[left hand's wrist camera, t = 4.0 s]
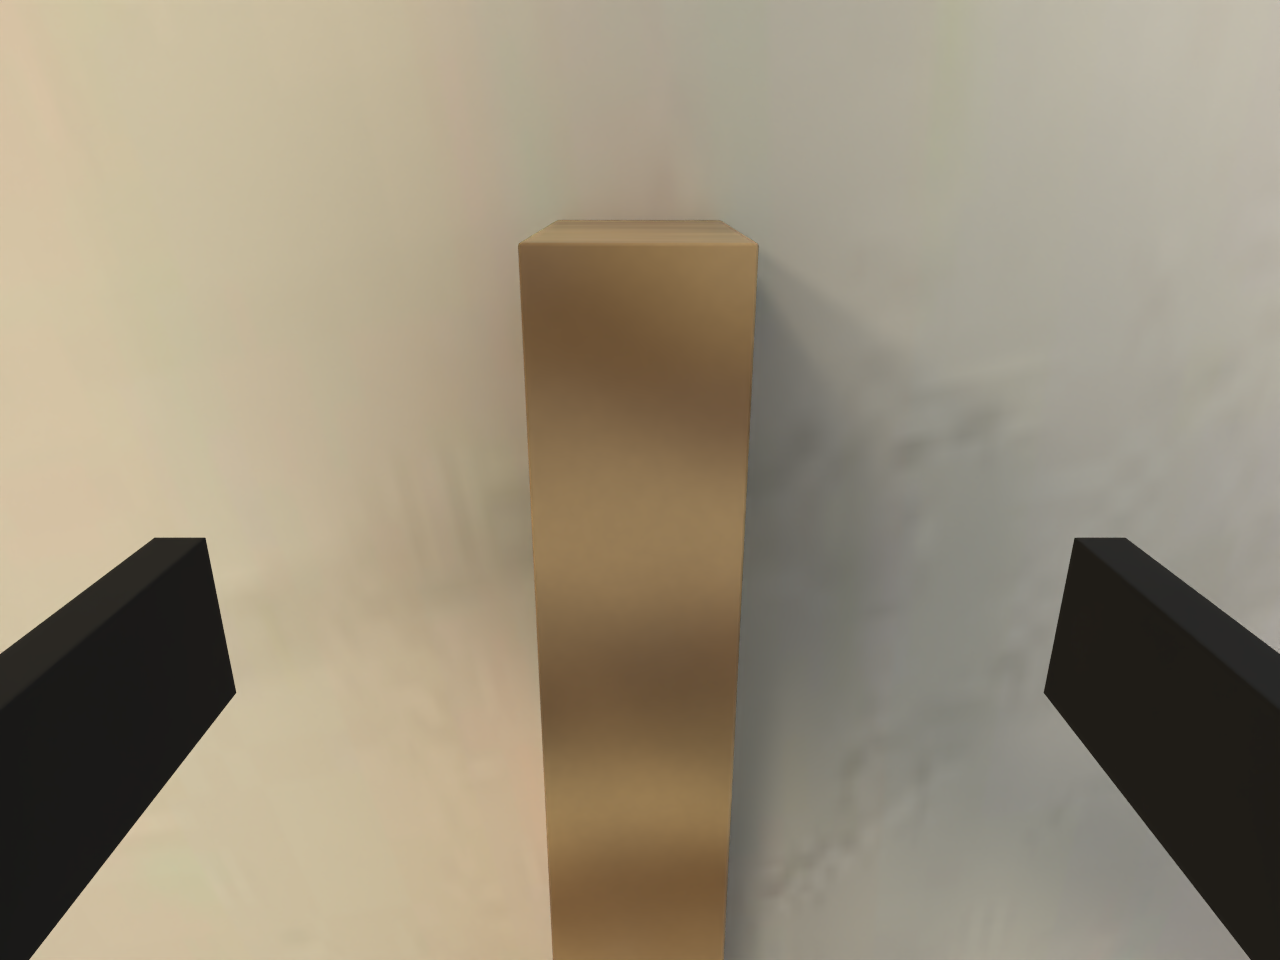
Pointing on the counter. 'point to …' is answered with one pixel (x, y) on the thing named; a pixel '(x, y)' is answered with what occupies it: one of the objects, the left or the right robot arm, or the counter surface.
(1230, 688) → the left robot arm
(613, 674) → the post
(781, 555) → the counter surface
